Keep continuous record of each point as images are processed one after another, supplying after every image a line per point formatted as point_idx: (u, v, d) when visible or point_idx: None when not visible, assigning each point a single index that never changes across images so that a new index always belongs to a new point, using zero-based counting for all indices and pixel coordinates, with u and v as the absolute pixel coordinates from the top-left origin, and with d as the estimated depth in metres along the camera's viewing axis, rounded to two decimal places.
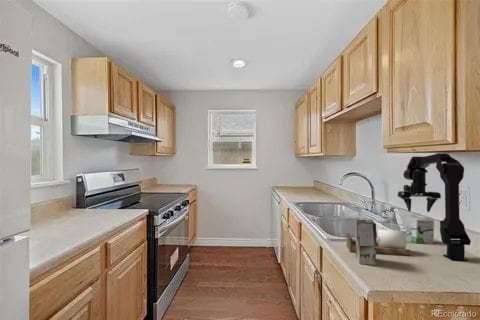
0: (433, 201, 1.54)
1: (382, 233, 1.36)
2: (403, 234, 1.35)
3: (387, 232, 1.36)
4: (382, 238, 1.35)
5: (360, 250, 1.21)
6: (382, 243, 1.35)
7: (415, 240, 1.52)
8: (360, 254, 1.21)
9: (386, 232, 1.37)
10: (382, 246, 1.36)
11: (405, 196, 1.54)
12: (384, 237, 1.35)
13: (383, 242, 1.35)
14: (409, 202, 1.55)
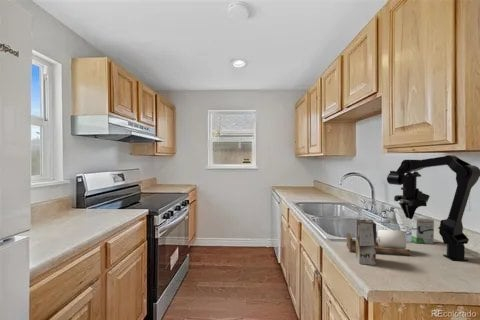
0: (406, 207, 1.44)
1: (382, 233, 1.36)
2: (403, 234, 1.35)
3: (387, 232, 1.36)
4: (382, 238, 1.35)
5: (360, 250, 1.21)
6: (382, 243, 1.35)
7: (415, 240, 1.52)
8: (360, 254, 1.21)
9: (386, 232, 1.37)
10: (382, 246, 1.36)
11: (394, 199, 1.55)
12: (384, 237, 1.35)
13: (383, 242, 1.35)
14: (401, 207, 1.49)
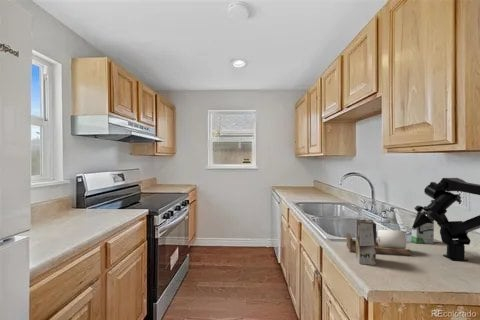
0: (420, 214, 1.34)
1: (382, 233, 1.36)
2: (403, 234, 1.35)
3: (387, 232, 1.36)
4: (382, 238, 1.35)
5: (360, 250, 1.21)
6: (382, 243, 1.35)
7: (415, 240, 1.52)
8: (360, 254, 1.21)
9: (386, 232, 1.37)
10: (382, 246, 1.36)
11: (415, 207, 1.43)
12: (384, 237, 1.35)
13: (383, 242, 1.35)
14: (417, 215, 1.37)
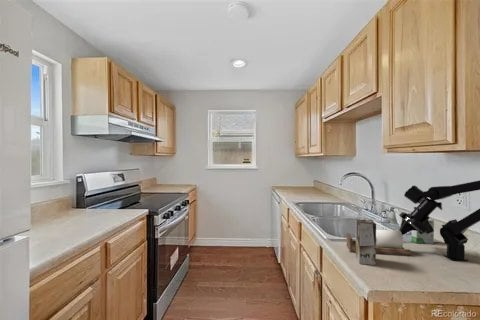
0: (404, 222, 1.38)
1: (379, 233, 1.37)
2: (400, 234, 1.35)
3: (383, 232, 1.37)
4: (379, 238, 1.35)
5: (360, 250, 1.21)
6: (379, 243, 1.35)
7: (415, 240, 1.52)
8: (360, 254, 1.21)
9: (383, 232, 1.37)
10: (379, 246, 1.36)
11: (400, 214, 1.47)
12: (381, 236, 1.35)
13: (380, 242, 1.35)
14: (401, 223, 1.41)
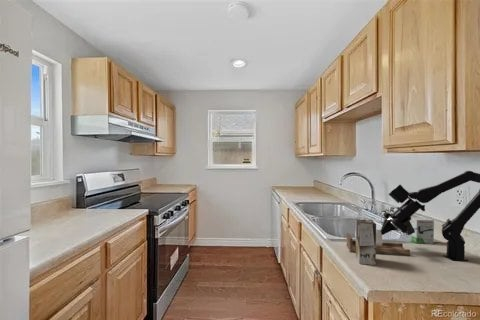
0: (386, 222, 1.38)
1: None
2: (379, 233, 1.37)
3: None
4: None
5: (360, 250, 1.21)
6: None
7: (415, 240, 1.52)
8: (360, 254, 1.21)
9: None
10: None
11: (384, 214, 1.47)
12: None
13: None
14: None
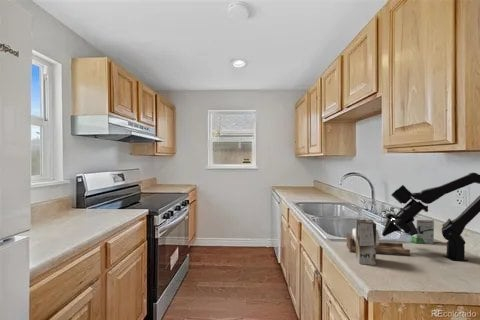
0: (389, 223, 1.37)
1: None
2: (376, 233, 1.37)
3: None
4: None
5: (360, 250, 1.21)
6: None
7: (415, 240, 1.52)
8: (360, 254, 1.21)
9: None
10: None
11: (386, 215, 1.46)
12: None
13: None
14: (386, 223, 1.40)
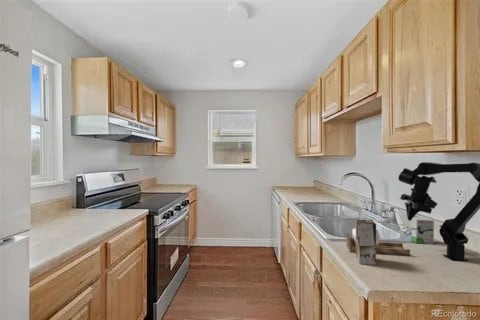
0: (409, 208, 1.41)
1: None
2: (376, 233, 1.37)
3: None
4: None
5: (360, 250, 1.21)
6: None
7: (415, 240, 1.52)
8: (360, 254, 1.21)
9: None
10: None
11: (401, 197, 1.50)
12: None
13: None
14: (406, 208, 1.44)
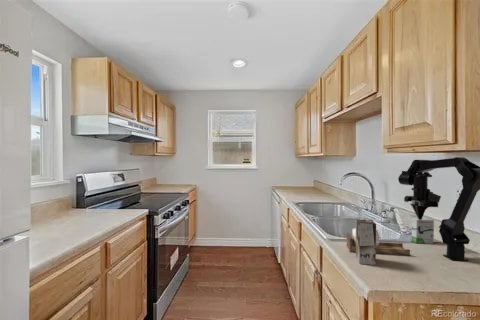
0: (416, 207, 1.43)
1: None
2: (376, 233, 1.37)
3: None
4: None
5: (360, 250, 1.21)
6: None
7: (415, 240, 1.52)
8: (360, 254, 1.21)
9: None
10: None
11: (404, 199, 1.53)
12: None
13: None
14: (413, 208, 1.46)
